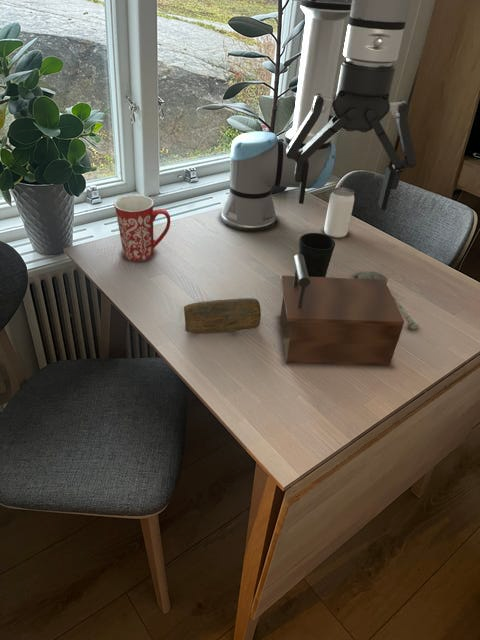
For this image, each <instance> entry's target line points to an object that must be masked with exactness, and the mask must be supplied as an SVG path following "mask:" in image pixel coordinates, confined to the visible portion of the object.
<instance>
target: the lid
mask: <svg viewBox="0 0 480 640" xmlns="http://www.w3.org/2000/svg"><path fill="white" fill-rule="evenodd" d="M293 264H294V269H295V271H294V275H280V287H281V291H282V300H283V299H284V305H285V312H286V318H287V321H296V322H325V323H354V324H383V325H403V326H404V324H405V319H404V318H403V315H402V314H401V313H402V312H401V311H400V308H399V307H398V306H397V304H396V303H395V300H394V298H395V297H394V295H393V294H392V292H391V290H390V288H389V286H388V283H387V284H386V281H385V280H384V279H358V278H357V277H356V278H354V277H353V278H352V277H333V276H332V277H331V276H329V277H328V276H325V277H309V275H308V271H307V267H306V263H305V259H304V256H303V255H301V254H299V253H297V254H295V255H294V256H293ZM392 295H393V296H392ZM393 297H394V298H393Z"/></svg>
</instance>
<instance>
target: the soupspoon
mask: <svg viewBox="0 0 480 640" xmlns="http://www.w3.org/2000/svg"><path fill="white" fill-rule="evenodd" d="M356 278H358V279H384V280H385V281H386V284H387V285H388V281H389V279H388V277H387V276H385V275H384V274H382V273H381V272H377V271H365V272H362V273H360V274H358V275H357V276H356ZM392 296H393V298H394V300H395V303H396V305H397V307H398V309H399V310H401V311H402V312H401V313H403V314H404V315H405V318H406V320H407V322H408V323H409V329H410V330H415V329H417V328H418V327H419V324H418V323H416V321H414V320H413V318H412V316H411V315H410V314H409V313H408V311H406V309H405V308H404V307H403V305H402V304H401V303H400V302H399V301H398V300H397V299H396V297H395V296H394V295H393V294H392Z"/></svg>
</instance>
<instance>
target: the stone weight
mask: <svg viewBox="0 0 480 640" xmlns="http://www.w3.org/2000/svg"><path fill="white" fill-rule="evenodd" d="M183 313H184V314H183V315H184V327H185V328H184V330H185V332H186V333H192V334H213V333H215V334H216V333H227V332H229V333H230V332H239V331H248V330H252V329H257V328H258V327H260V324H261V318H262V317H261V316H262V315H261V314H262V312H261V304H260V301H259V299H258V298H255V297H240V298H226V299H214V300H206V301H205V300H204V301H198V302H193V303H188V304H186V305H184V306H183Z"/></svg>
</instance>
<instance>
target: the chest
mask: <svg viewBox="0 0 480 640" xmlns="http://www.w3.org/2000/svg"><path fill="white" fill-rule="evenodd" d="M279 321H280V330H281V336H282V344H283V351H284V358H285V364H303V365H305V364H306V365H330V366H331V365H335V366H337V365H338V366H366V367H367V366H369V367H390V366H391V363H392V360H393V357H394V354H395V351H396V349H397V346H398V342H399V340H400V336H401V334H402V330H403V328H404V325H383V324H354V323H325V322H296V321H287V318H286V312H285V305H284V299H283V298H282V302H281V310H280V317H279Z"/></svg>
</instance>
